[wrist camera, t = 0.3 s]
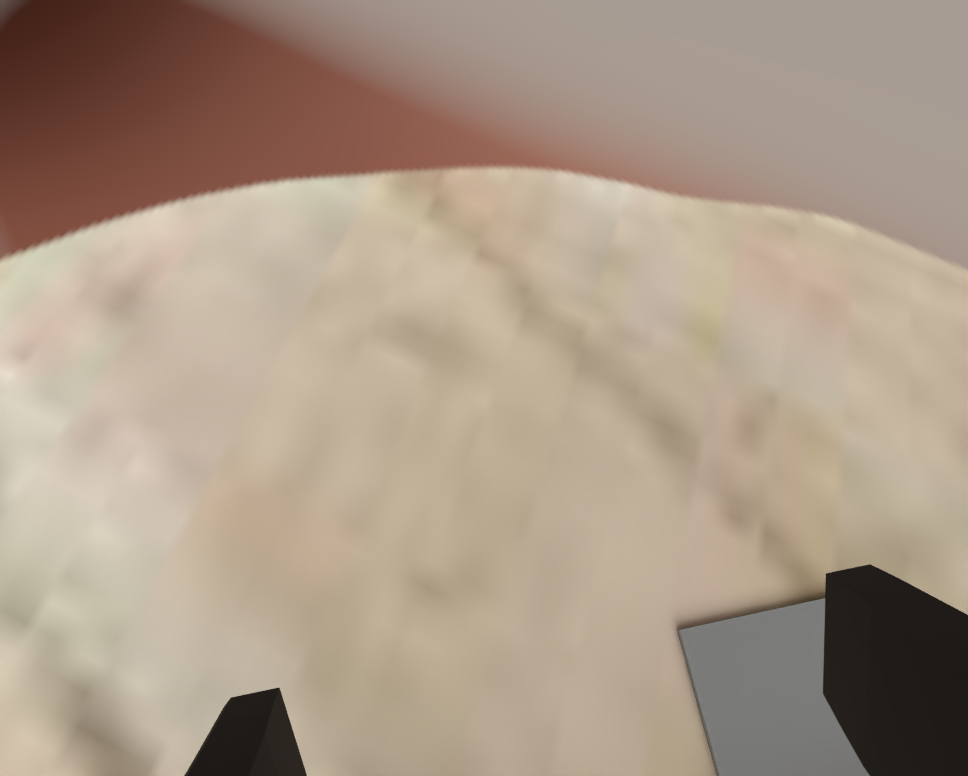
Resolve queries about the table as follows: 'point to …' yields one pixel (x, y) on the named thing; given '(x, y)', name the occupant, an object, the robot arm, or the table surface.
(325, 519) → the table surface
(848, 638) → the robot arm
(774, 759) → the slate mat
